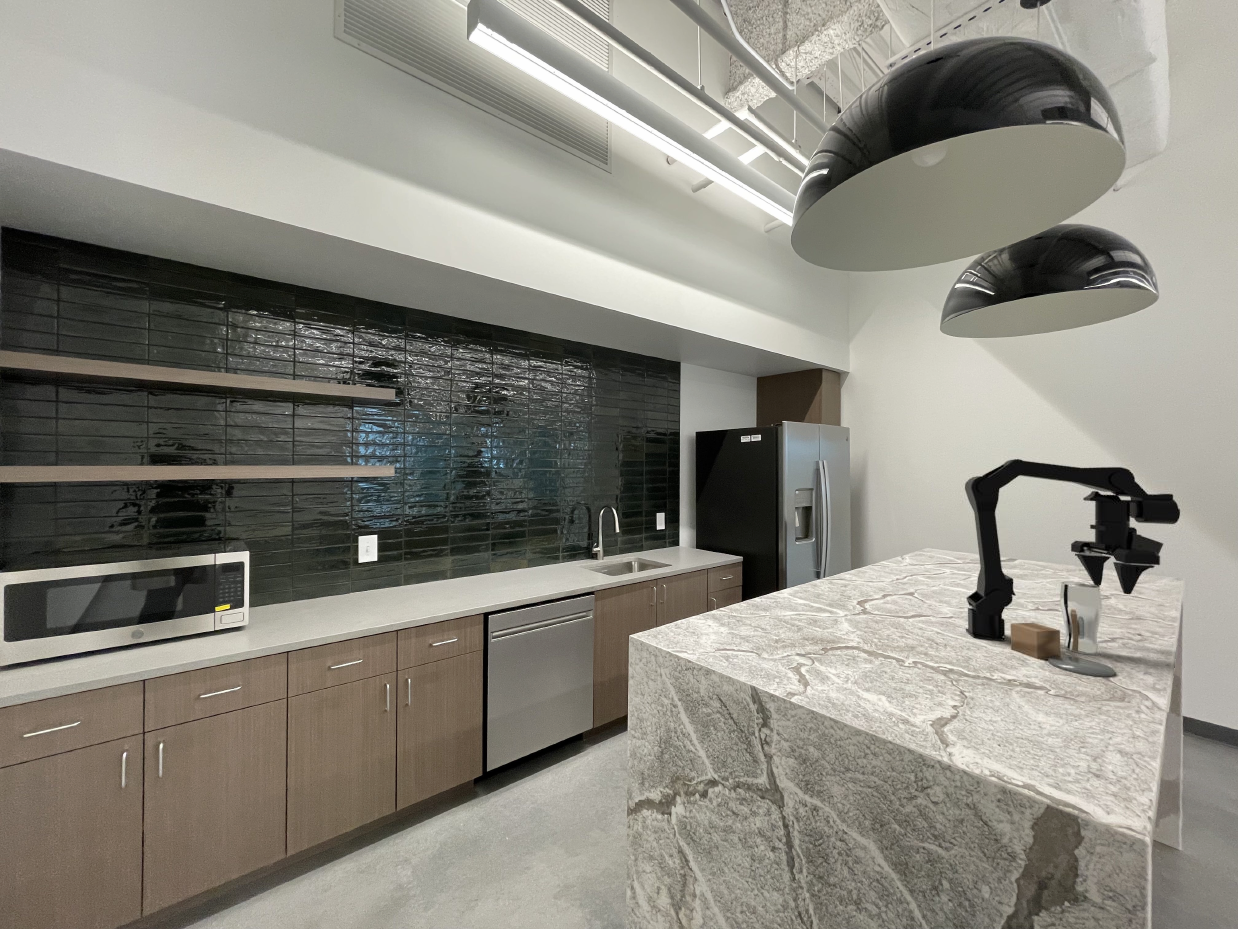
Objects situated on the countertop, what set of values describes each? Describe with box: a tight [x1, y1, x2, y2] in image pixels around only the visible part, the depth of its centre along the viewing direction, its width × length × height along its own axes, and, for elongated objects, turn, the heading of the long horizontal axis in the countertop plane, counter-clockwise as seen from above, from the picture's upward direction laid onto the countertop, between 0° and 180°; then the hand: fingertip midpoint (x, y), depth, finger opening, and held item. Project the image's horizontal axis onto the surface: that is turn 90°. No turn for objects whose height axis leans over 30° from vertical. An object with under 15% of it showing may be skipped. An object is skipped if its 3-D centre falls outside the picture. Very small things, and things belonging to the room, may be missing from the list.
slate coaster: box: [1048, 655, 1116, 678], centre depth 103 cm, size 10×10×1 cm
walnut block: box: [1010, 622, 1061, 660], centre depth 111 cm, size 6×6×6 cm
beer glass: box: [1059, 581, 1103, 656], centre depth 113 cm, size 7×7×15 cm
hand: (1111, 589), depth 114 cm, fingers open, 9 cm apart
